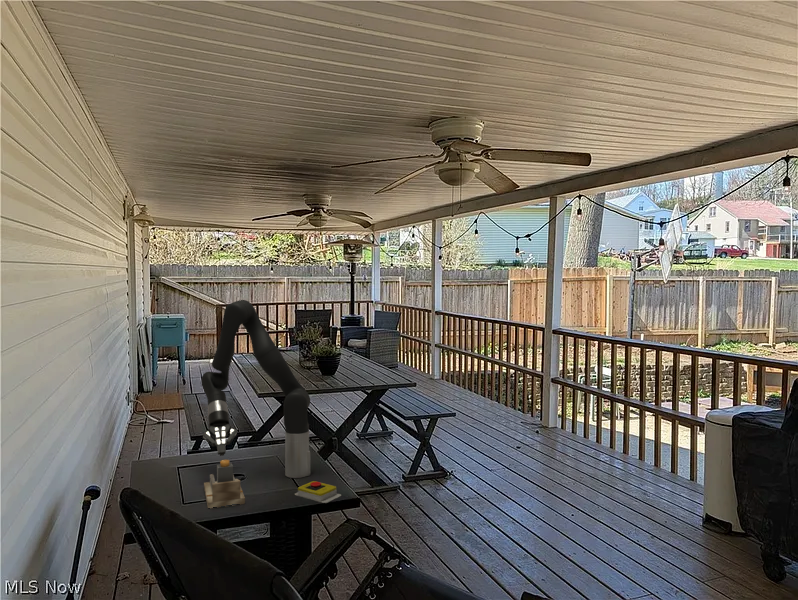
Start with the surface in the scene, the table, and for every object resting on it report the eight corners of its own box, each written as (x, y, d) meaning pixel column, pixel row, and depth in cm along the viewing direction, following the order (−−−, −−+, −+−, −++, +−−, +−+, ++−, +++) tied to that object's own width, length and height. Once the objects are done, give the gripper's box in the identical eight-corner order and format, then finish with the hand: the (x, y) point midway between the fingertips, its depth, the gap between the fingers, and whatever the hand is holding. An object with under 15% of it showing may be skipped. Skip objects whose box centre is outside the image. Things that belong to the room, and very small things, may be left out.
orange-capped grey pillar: (231, 491, 200) (231, 458, 200) (233, 495, 197) (233, 461, 196) (217, 493, 199) (216, 460, 198) (217, 497, 195) (217, 463, 195)
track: (237, 484, 214) (237, 462, 214) (244, 503, 195) (244, 480, 195) (204, 488, 210) (204, 466, 210) (207, 508, 190) (207, 485, 190)
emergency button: (311, 476, 211) (342, 484, 203) (311, 488, 212) (342, 496, 203) (293, 483, 204) (325, 492, 195) (293, 495, 204) (325, 504, 196)
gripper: (200, 411, 217) (203, 451, 206) (236, 407, 222) (241, 447, 211) (200, 422, 222) (203, 462, 211) (235, 418, 227) (239, 457, 216)
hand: (222, 454), depth 211 cm, fingers closed
